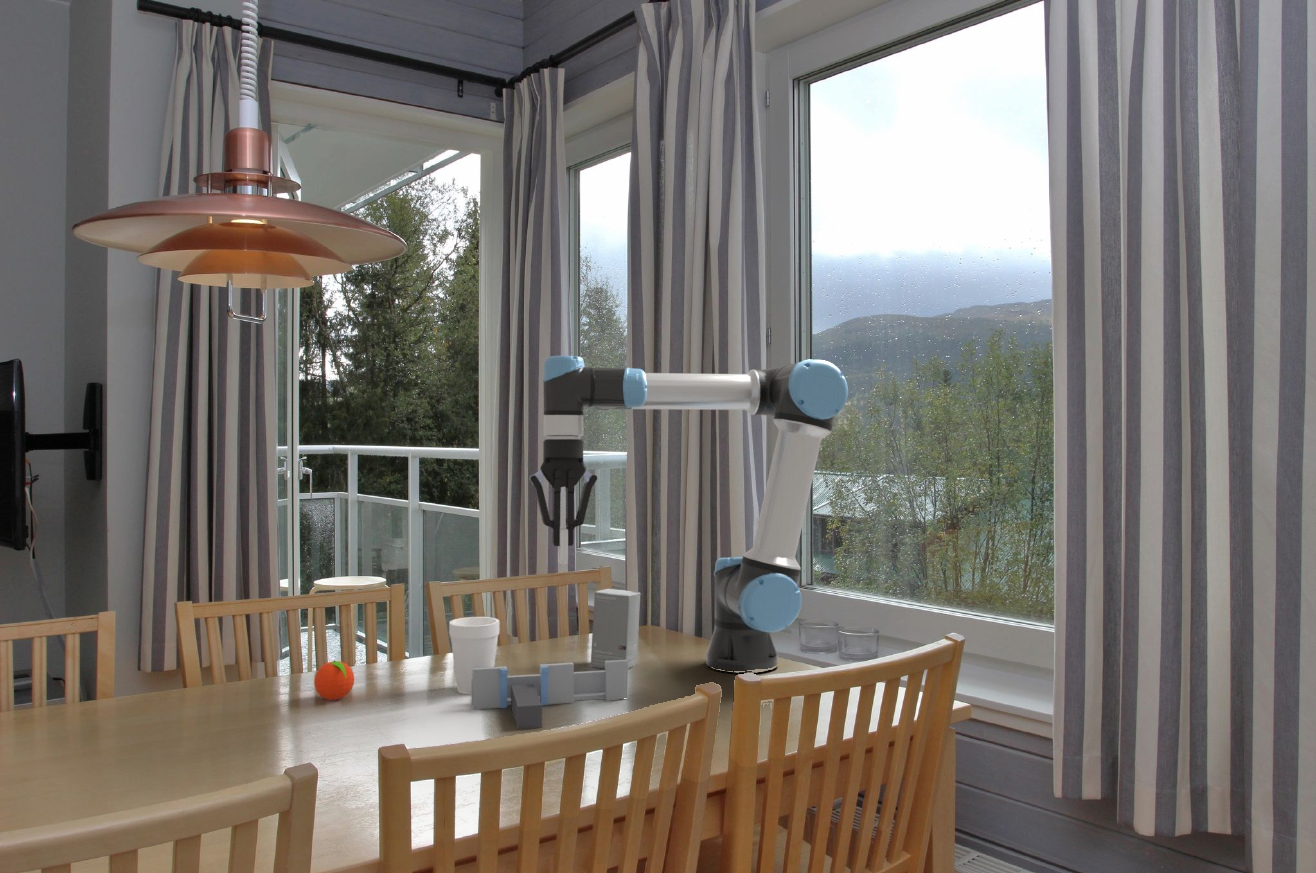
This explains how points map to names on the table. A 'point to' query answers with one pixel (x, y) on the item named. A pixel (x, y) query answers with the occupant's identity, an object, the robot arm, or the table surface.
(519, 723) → the dark grey bar
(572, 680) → the grey slotted rail
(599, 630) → the skincare box
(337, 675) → the clementine
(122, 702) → the table surface
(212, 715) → the table surface
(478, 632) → the foam cup
